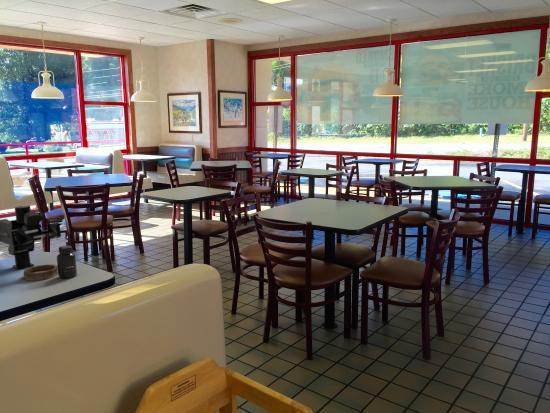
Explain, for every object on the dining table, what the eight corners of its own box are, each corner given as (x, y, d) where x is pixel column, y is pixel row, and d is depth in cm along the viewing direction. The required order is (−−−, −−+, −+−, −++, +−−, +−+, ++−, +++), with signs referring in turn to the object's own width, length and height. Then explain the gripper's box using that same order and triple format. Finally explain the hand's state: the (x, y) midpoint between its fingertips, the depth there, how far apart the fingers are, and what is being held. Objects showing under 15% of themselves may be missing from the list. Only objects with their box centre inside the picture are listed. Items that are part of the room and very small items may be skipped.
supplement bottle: (70, 279, 181) (67, 249, 179) (54, 278, 183) (51, 249, 181) (81, 274, 188) (78, 245, 186) (66, 273, 189) (62, 244, 187)
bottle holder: (19, 276, 187) (18, 270, 186) (49, 269, 196) (49, 262, 195) (32, 282, 179) (31, 275, 179) (63, 274, 188) (62, 267, 188)
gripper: (1, 216, 183) (17, 220, 173) (49, 208, 197) (66, 212, 187) (4, 243, 185) (21, 249, 175) (52, 234, 199) (69, 239, 189)
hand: (45, 236), depth 182 cm, fingers open, 9 cm apart
